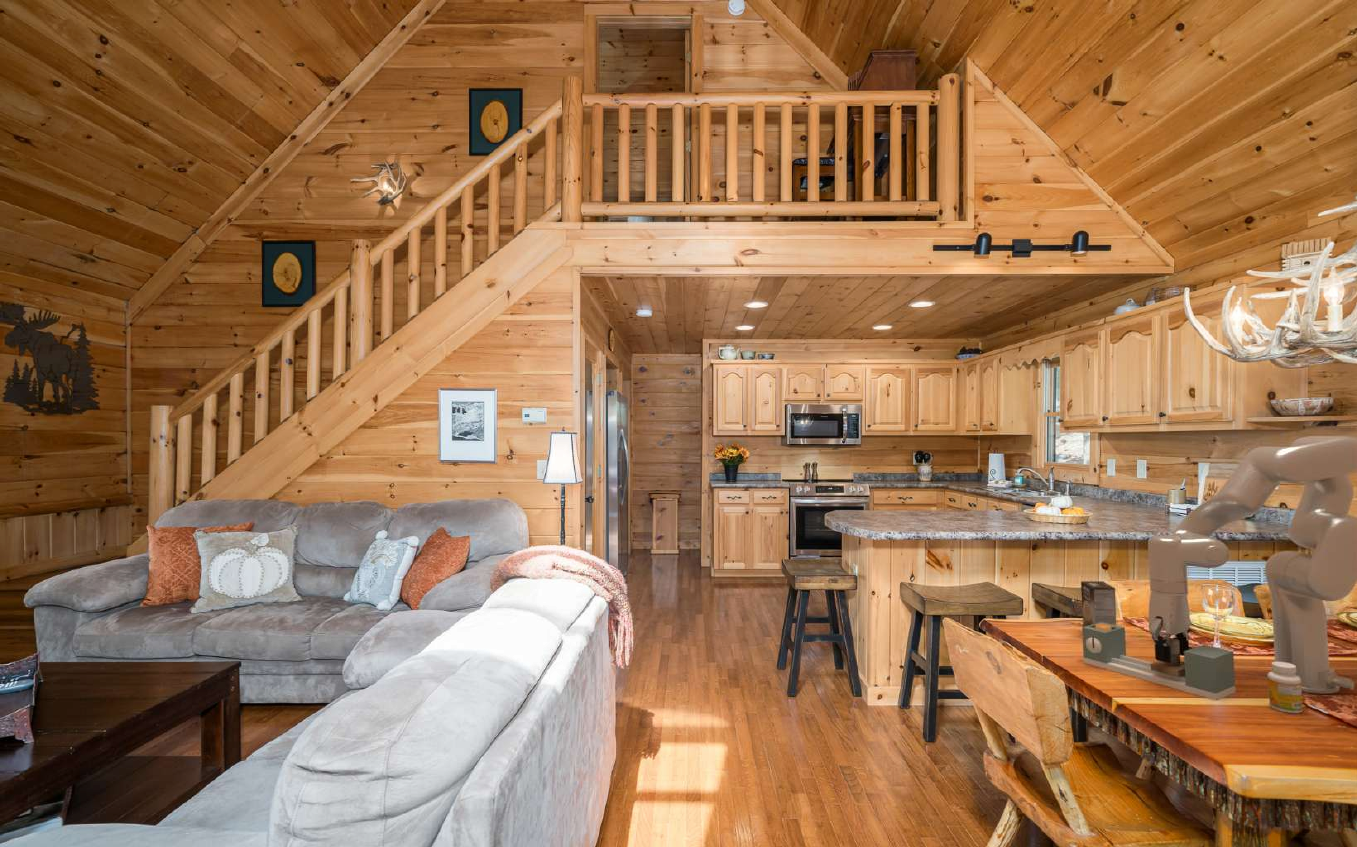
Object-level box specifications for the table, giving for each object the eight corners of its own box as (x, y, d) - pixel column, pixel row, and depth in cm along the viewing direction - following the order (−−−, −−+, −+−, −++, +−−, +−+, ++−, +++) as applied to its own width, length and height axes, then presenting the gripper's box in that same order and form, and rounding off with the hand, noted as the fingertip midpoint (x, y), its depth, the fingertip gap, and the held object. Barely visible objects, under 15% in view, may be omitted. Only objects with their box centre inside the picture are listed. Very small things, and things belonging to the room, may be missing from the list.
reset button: (1114, 637, 176) (1114, 625, 176) (1106, 640, 174) (1106, 628, 174) (1100, 634, 179) (1100, 622, 179) (1093, 636, 177) (1092, 624, 177)
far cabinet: (1126, 657, 176) (1124, 627, 176) (1105, 663, 172) (1104, 633, 172) (1103, 651, 181) (1101, 622, 181) (1082, 657, 177) (1080, 627, 177)
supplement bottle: (1268, 701, 149) (1266, 658, 149) (1301, 707, 145) (1299, 663, 145) (1270, 710, 144) (1267, 665, 145) (1304, 715, 141) (1301, 670, 141)
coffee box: (1082, 632, 203) (1079, 580, 203) (1105, 633, 201) (1102, 580, 202) (1094, 642, 194) (1092, 587, 194) (1118, 642, 192) (1116, 587, 193)
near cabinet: (1235, 685, 155) (1233, 651, 155) (1215, 693, 151) (1213, 658, 151) (1201, 676, 161) (1199, 643, 161) (1181, 684, 157) (1180, 650, 157)
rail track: (1235, 691, 155) (1234, 681, 155) (1216, 700, 150) (1215, 689, 151) (1103, 656, 181) (1102, 647, 181) (1083, 662, 177) (1083, 653, 177)
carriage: (1195, 670, 161) (1194, 639, 161) (1178, 677, 158) (1176, 645, 158) (1168, 663, 167) (1166, 633, 167) (1150, 669, 163) (1149, 639, 163)
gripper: (1170, 579, 170) (1174, 647, 170) (1132, 588, 162) (1136, 660, 161) (1204, 584, 163) (1208, 655, 163) (1166, 594, 155) (1170, 669, 155)
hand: (1172, 657), depth 162 cm, fingers open, 7 cm apart
